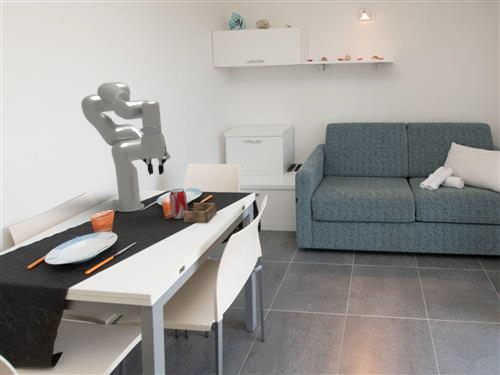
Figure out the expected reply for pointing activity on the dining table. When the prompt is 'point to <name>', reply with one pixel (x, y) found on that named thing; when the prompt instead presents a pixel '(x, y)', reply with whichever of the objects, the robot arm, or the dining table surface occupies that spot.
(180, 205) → the soda can
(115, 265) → the dining table surface
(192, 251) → the dining table surface
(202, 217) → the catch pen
